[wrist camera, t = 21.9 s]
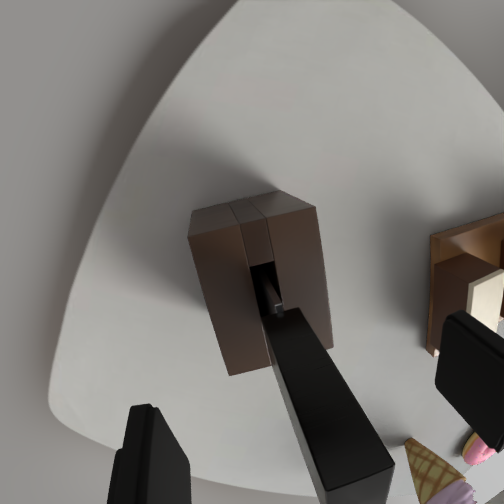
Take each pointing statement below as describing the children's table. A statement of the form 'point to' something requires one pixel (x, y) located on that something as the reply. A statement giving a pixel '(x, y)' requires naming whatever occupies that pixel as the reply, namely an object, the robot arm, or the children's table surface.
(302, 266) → the knife block
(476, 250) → the cutting board
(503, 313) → the cake
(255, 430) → the children's table surface
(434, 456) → the ice cream cone
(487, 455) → the doughnut
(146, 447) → the robot arm
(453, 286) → the cake slice
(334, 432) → the knife
